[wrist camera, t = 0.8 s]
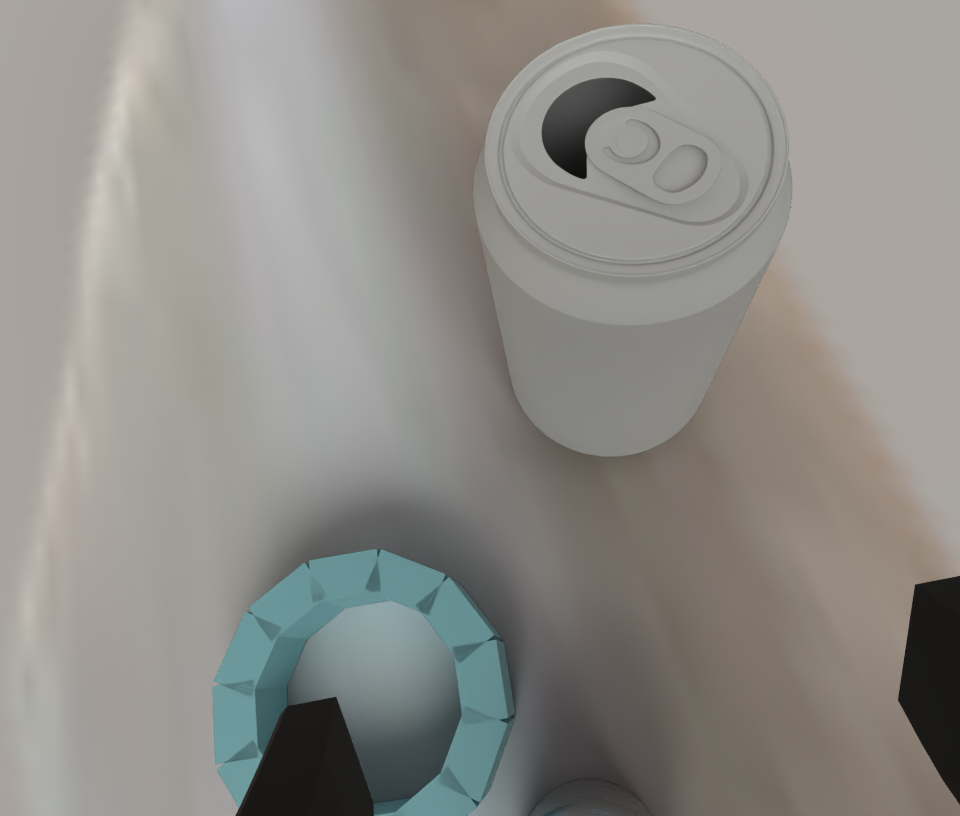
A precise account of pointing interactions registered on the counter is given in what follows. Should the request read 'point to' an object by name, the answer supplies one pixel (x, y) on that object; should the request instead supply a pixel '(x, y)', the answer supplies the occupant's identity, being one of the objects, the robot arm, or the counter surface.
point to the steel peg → (590, 800)
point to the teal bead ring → (314, 602)
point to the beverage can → (628, 227)
